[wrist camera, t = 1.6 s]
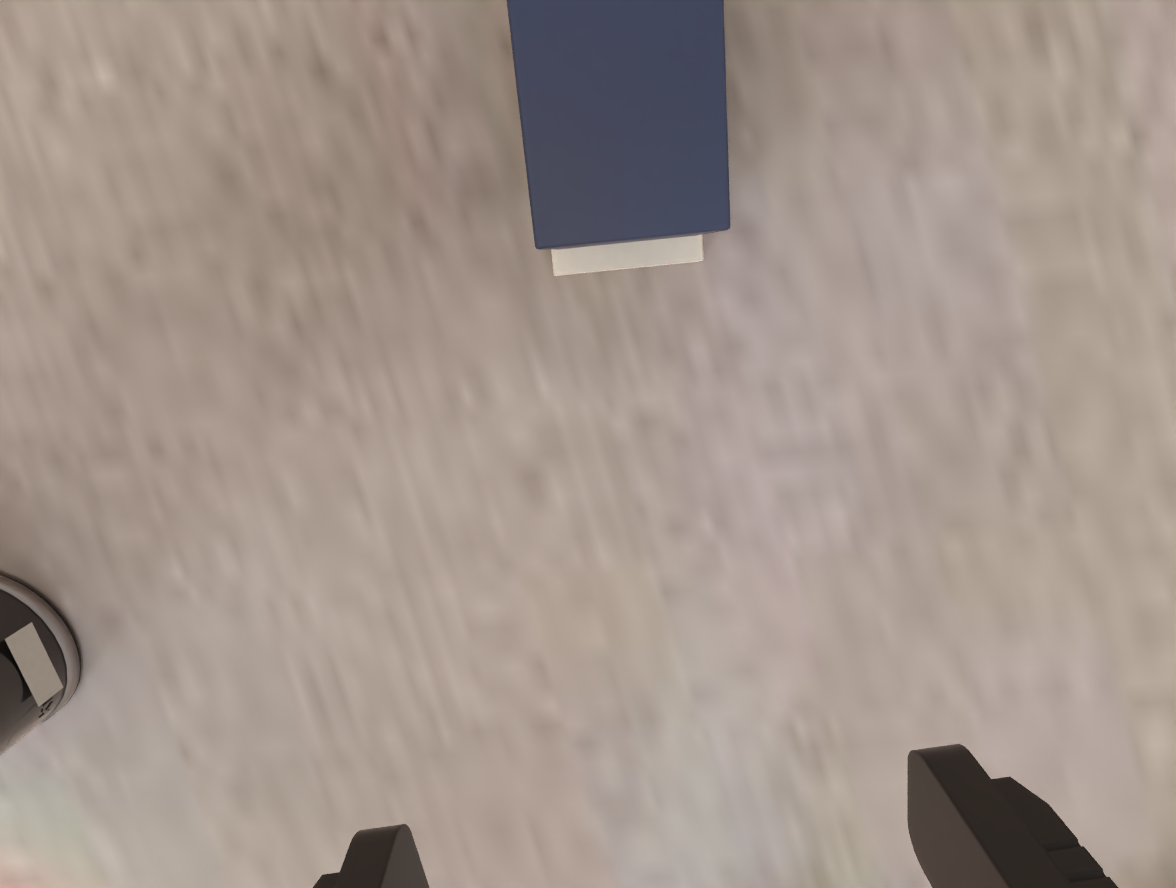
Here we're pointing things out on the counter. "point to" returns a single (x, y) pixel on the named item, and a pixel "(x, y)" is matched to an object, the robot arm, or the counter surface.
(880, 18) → the counter surface
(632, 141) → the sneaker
